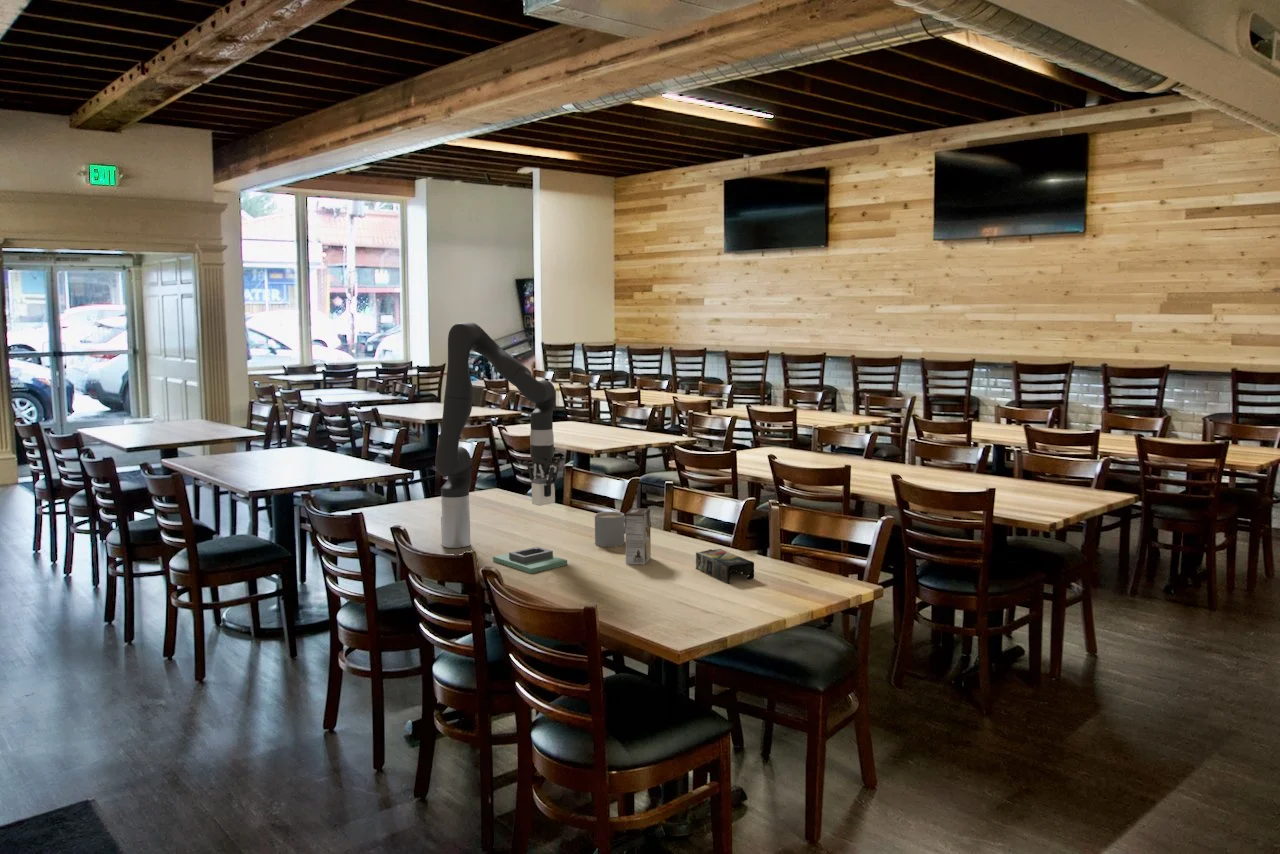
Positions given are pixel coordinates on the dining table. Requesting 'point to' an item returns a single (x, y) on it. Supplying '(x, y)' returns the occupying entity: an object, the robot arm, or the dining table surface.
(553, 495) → the plug
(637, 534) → the coffee box
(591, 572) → the dining table surface
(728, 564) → the juice carton
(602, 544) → the coffee mug
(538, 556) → the header board
